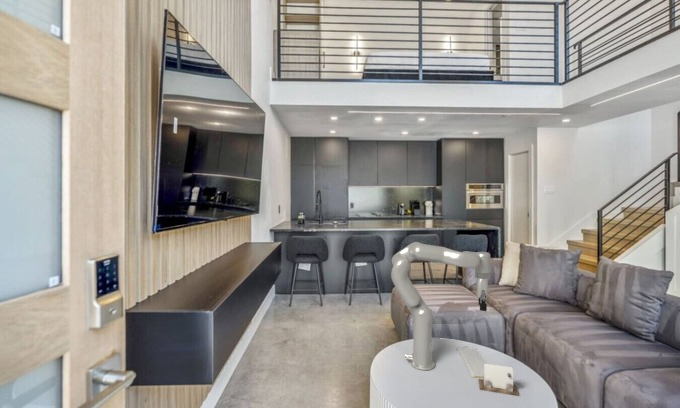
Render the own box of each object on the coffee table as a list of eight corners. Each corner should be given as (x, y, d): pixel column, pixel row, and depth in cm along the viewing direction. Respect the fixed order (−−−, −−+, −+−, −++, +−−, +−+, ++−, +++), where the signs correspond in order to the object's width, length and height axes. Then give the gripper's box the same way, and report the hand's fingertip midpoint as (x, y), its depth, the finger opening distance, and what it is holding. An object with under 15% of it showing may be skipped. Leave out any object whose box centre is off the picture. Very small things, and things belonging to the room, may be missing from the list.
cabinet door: (484, 386, 157) (484, 367, 157) (483, 382, 160) (483, 363, 160) (513, 391, 153) (513, 371, 153) (511, 386, 157) (512, 367, 157)
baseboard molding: (468, 378, 167) (494, 380, 166) (468, 372, 167) (494, 374, 166) (455, 350, 198) (476, 352, 196) (455, 345, 198) (476, 346, 196)
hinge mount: (479, 389, 156) (479, 381, 156) (478, 380, 164) (478, 372, 164) (518, 396, 151) (518, 387, 151) (515, 386, 159) (515, 378, 159)
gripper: (474, 271, 189) (473, 302, 189) (475, 278, 172) (475, 312, 172) (488, 272, 186) (488, 303, 186) (492, 279, 170) (491, 313, 170)
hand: (482, 307), depth 179 cm, fingers open, 9 cm apart
